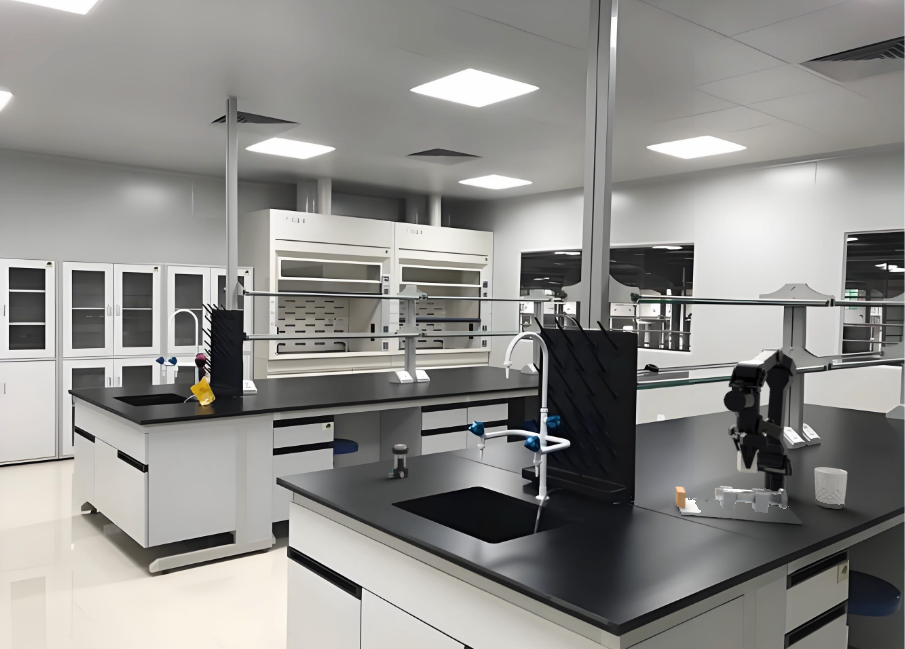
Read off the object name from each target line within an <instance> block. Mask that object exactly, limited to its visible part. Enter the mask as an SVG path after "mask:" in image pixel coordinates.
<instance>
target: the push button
mask: <svg viewBox="0 0 905 649" xmlns="http://www.w3.org/2000/svg"><path fill="white" fill-rule="evenodd" d="M409 449H410V448H409V447H407V444H403V443H399V444H398V443H397V444H394V447H392V448H391V451H392V452H391V453H392V454H393V455H394V459H393V460H394V462H393V465H394V466H393V468H392V469H391V472H390V473H389V472H388V475H390V476H388V478H393V479H401V478H408V477H409V469H408V468H407V465H406V458H407V457H406V455H408V454H409ZM399 477H401V478H399Z"/></svg>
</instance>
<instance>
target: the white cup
mask: <svg viewBox="0 0 905 649" xmlns="http://www.w3.org/2000/svg"><path fill="white" fill-rule="evenodd" d="M847 480H848V471H847V470H844V469H840V468H835V467H828V466H827V467H826V466H824V467H823V466H821V467H815V468H814V488H815V490H814V493H815V500H816V499H817V500H818V501H820V502H823V503H827V504H838V505H840V504H844V505H845V499H846V493H847V492H846V491H847Z"/></svg>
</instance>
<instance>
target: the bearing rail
mask: <svg viewBox="0 0 905 649" xmlns="http://www.w3.org/2000/svg"><path fill="white" fill-rule="evenodd" d="M719 488H724V489H734V488H733V487H732V486H725V485H719ZM751 490H752V491H765V490H764V489H760V488H755V487H753V488H751ZM686 492H687V491H686V490H685V487H684V486H675V495H674V496H675V498H674V499H675V500H674V501H675V504H676V506H677V508H678V507H679V508H680V511H681V513H700V512H701V510H699V509H698V507H697V505H696V504H695V502H696V501H695V500H693V499H694V498H693V499H692V500H688V498H689V499H690V498H691V497H686V496H687V493H686ZM719 501H720V505H721V507H722V509H723V510H735V504H736V502H737V501H736V492H735V491H723V500H719ZM751 503H752V508H753V509H754V510H755V512H763V513H768V507H769V504H770V503H769V495H768V494H763V493H756V496H755V502H751ZM680 511H679V512H680Z"/></svg>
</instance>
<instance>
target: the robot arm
mask: <svg viewBox="0 0 905 649" xmlns="http://www.w3.org/2000/svg"><path fill="white" fill-rule="evenodd" d="M797 368H798V367H797V365H796V363H795V361H794V359H793V358H791V357H790V356H789V355H787V354H785V353H784V351H783V350H782V349H780V348H767V347H766V348H763V349H762V350H761V352H760V353H759V354H757V355H756V356H755V357H754V358H752V359H751V360H743V361H739V362H736V365H735V366H734V367H733V369H732V372H731V376H730V379H729V382H728V388H731V390H729V391H727V392H726V393H725V395H724V397H723V404H724V406H725V408H726V409H727V410H728V411H730V412H732V413H734V416H735V417H736V423H735V424H731V425H730V426H729V427H728V429H727V430H728V432H727V434H728V435H729V436H731V438H730V439H731V440H732V443H733V445H734V447H735V450H736V453H737V454H738V451H740V452H741V455H742V458H743V461H744V464H745V467H746V469H751V466H752V463H753V460H754V457H755V454H757V470H756V471H757V472H762V473H763V488H766V489H770V490H772V491H779V489H786V477H788V476H791V477H792V476H793V475H794V466H793V465H794V464H793V462H792V460H791V457H790V455H789V447H788V445H787V444H786V442H785V440H784V436H785V435H784V432H785V420H786V406H787V397H788V396H787V393H788V390H789V389H790V388H791V387H792V385H793V384H794V381H795V377H796V376H797ZM765 383H766V385H767V386H768V389H769V394H768V405H767V407H768V408H767V418H765V419H764V417H763V415H762V414H761V393H762V388H763V387H764V386H765ZM733 435H734V437H732V436H733Z"/></svg>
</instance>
